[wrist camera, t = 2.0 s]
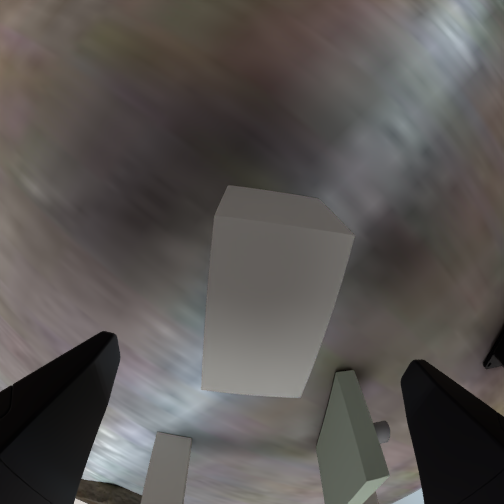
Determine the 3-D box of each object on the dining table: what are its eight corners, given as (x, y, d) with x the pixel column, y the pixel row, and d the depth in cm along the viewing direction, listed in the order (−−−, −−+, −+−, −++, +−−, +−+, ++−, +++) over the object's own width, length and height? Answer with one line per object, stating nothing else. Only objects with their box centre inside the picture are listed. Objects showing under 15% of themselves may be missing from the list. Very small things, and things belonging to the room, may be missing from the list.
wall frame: (361, 441, 21) (383, 522, 12) (355, 448, 21) (374, 526, 13) (157, 431, 20) (136, 523, 11) (158, 439, 20) (140, 526, 12)
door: (342, 443, 20) (358, 517, 13) (315, 447, 20) (327, 523, 13) (371, 367, 16) (411, 468, 9) (335, 372, 16) (366, 481, 9)
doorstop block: (317, 197, 13) (355, 235, 8) (288, 326, 15) (300, 397, 11) (228, 184, 12) (214, 215, 8) (213, 318, 15) (201, 389, 10)
